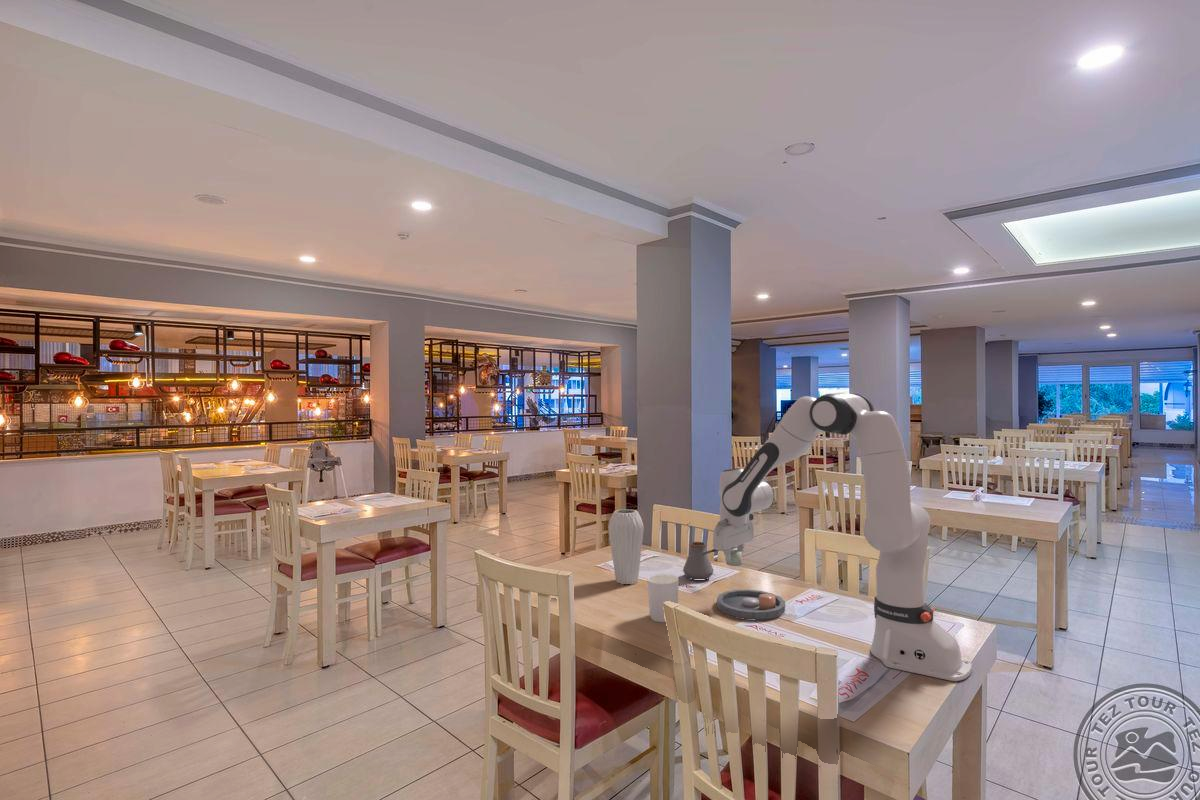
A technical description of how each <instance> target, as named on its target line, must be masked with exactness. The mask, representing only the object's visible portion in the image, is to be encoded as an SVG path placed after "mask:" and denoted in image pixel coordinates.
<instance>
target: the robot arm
mask: <svg viewBox="0 0 1200 800" xmlns="http://www.w3.org/2000/svg"><path fill="white" fill-rule="evenodd" d="M820 432H825V433H829V434H835V435H836V434H837V435H843V436H846V435H851V436H852V437H853V439H854V441H855V442H856V447H857V451H858V455H859V461H860V465H861V470H862V475H863V480H864V485H865V487H864V488H865V522H864V525H863V536H864V538H865V540H866V542H867V543H868V544H869V545H870V546H871V547H872V548H873V549H875V550H877V551H879V555H878V560H877V562H876V565H875V596H874V602H873V612H874V619H875V623H874V634H873V639H872V643H871V646H870V649H869V650H870V653H871V654H872V655H873V656H874V657H876V658H877V659H878V660H879V661H881V662H882V663H883V665H884V666H885V667H886V668H890V669H895V670H900V671H904V672H909V673H912V674H913V673H914V674H919V675H923V676H928V677H933V678H936V679H941V680H947V681H951V682H959V681H963V680H966V679H967V678H968V677H969V676H970V675H971V674H972V672H973V671H972V670H973V666H972V665H973V664H972V662H971V661H970V660H969V658H967V657H965V656H962V653H961V648H960V646H959V645H960V644H959V643H958V641H957V638H956V637H955V636H953V635H952V634H951V633H950V632H948V631H947V630H946V629H945V628H943V627H942V626H941V625H940V624H939V623H938V622H936V621H935V620H934V612H935V606H931V607H930V606H929V605H928V604H926V603H925V585H924V583H925V582H924V579H925V578H924V575H925V574H924V573H925V564H926V560H927V559H926V558H927V551H928V542H929V532H930V528H931V523H932V522H931V517H930V515H929V513H928V511H927V510H926V509H925V508H924V507H923V506H922V505H920V504H917V503H914V502H911V486H912V485H911V484H912V475H911V470H910V466H909V462H908V457H907V453H906V449H905V444H904V440H903V438H902V434H901V432H900V429H899V427H898V425H897V423H896V420H895V418H894V416H893V415H892V414H891V413H888V412H887V411H884V410H875V409H874V405H873V403H872V402H871V401H870V399H869V398H867V397H866V396H863V395H861V394H858V393H847V392H834V393H826V394H822V395H820V396H819V397H817V398H816V397H814V396H809V395H804V396H801V397H799V398H797V400H796V401H795V402H794V403H793V404H792V405H791V406H790V407H789V408H788V410H787V411H786V412H785V414H784V415H783V417H782V418H781V420H780V421H779V423H778V425H776V427H775V429H774V431H773V432H771V434H770V436H769V437H768V438H767V440H766V441H765V443H764V444H763V445H761V446H760V448H759V449H758V450H757V451H756V453H755V454H754V455H753V457H752V458H751V459H750V460H749V461H748V463H747V464H746V466H745V467H744V468H741V467H735V468H729V469H724V470H723V471H722V472H721V473H720V477H719V483H718V484H719V487H718V490H719V493H718V494H719V498H720V503H719V521H717V523H716V525H715V527H714V529H713V534H712V535H713V536H712V537H713V538H712V547H713V549H715V550H718V551H717V552H723V553H724V556H725V562H726V561H728V562H730V561H732V560H733V559H732V556H731V554H730V551H731V548H732V549H733V548H735V547H736V548H737V549H736V550H739V551H741V552H742V557H743V551H744V549H745V544H747V543H748V542H751V541H753V539H754V537H755V522H754V520H755V518H756V517H755V514H754V513H756V512H759V511H760V512H761V511H764V510H767V509H769V508H770V507H771V506H772V504H773V503H774V499H775V493H774V490H773V487H772V486H771V485H770V484H769V482H767V481H765V478H766V477H767V476H768V474H769V473H771V472H772V471H773V470H774V469H776V468H778V467H780V466H781V465H784V464H786V463H788V462H791V461H795V460H797V459H799V458H801V457H802V456H803V455H804V454H805V453H806V452H807V451H808V450H809V448H811V446H812V445H813V443H814V441H815V440H816V439H817V437H818V436H819V434H820Z"/></svg>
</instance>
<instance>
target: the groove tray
mask: <svg viewBox="0 0 1200 800" xmlns="http://www.w3.org/2000/svg"><path fill="white" fill-rule="evenodd" d="M760 594H771V595H774V596H775V608H773V609H768V610H760V609H759V595H760ZM716 605H717V609H718V611H720V612H721V613H723V614H724V615H726V614H727V615H726V616H729V615H730V616H729V617H732V616H733V617H732V618H735V617H738V618H737V619H739V618H744V619H743V620H745V619H755V620H754V621H770V620H774V619H775V620H776V619H778V618H780V616H781V615H782V614H783V613H784V611H785V612H786V601H785V600H784V599H783V598H782V597H781V596H779V595H777V594H774V593H772V592H767V591H764V590H759V589H758V590H757V589H756V590H755V589H748V588H747V589H732V590H727V591H724V592H722V593H719V594H718V595H717V598H716ZM784 614H785V613H784ZM784 614H783V615H784ZM783 615H782V616H783ZM782 616H781V617H782Z"/></svg>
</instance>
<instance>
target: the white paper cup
mask: <svg viewBox="0 0 1200 800" xmlns="http://www.w3.org/2000/svg"><path fill="white" fill-rule="evenodd" d="M679 580H680V578H679V577H677V576H675V575H672V574H666V573H665V574H664V573H661V574H660V573H659V574H653V575H649V576H648V577H647V579H646V581H647V591H648V592H647V595H648V606H649V607H648V608H649V616H650V619H651V620H652V621H654V622H657V621H658V622H657V623H666V622H665V619H664V610H663V602H665V601H671V602H674V603H677V604H679V585H680V584H679V582H680V581H679Z"/></svg>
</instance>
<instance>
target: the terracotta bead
mask: <svg viewBox="0 0 1200 800" xmlns="http://www.w3.org/2000/svg"><path fill="white" fill-rule="evenodd" d="M773 608H775V596H774V595H771V594H760V595H759V609H760V610H768V609H773Z"/></svg>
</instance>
